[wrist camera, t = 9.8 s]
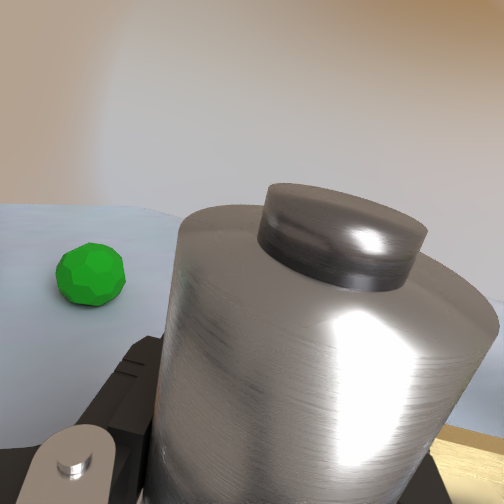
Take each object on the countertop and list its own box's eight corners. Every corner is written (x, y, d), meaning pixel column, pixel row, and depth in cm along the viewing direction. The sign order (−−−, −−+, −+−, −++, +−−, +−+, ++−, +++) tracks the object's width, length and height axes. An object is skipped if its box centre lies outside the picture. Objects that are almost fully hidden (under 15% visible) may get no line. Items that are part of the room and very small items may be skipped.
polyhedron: (44, 313, 24) (42, 255, 23) (70, 281, 29) (70, 230, 27) (115, 321, 25) (119, 266, 23) (130, 288, 30) (134, 240, 28)
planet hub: (84, 733, 8) (117, 203, 3) (160, 509, 12) (222, 155, 7) (286, 790, 8) (668, 338, 3) (288, 543, 12) (436, 206, 7)
